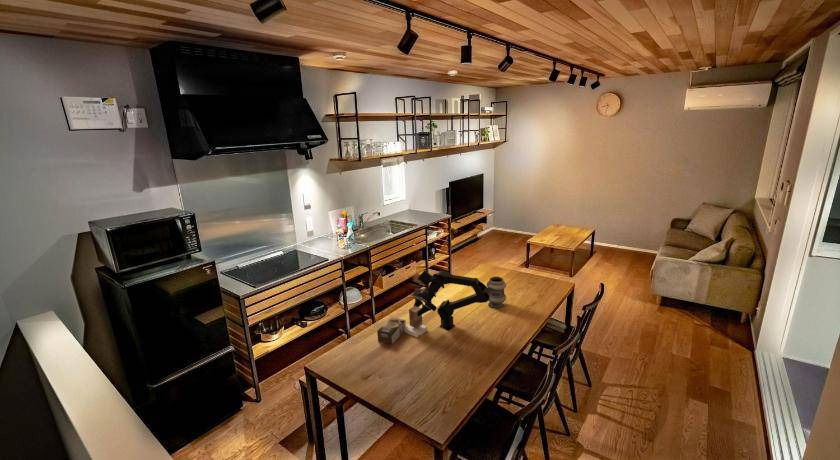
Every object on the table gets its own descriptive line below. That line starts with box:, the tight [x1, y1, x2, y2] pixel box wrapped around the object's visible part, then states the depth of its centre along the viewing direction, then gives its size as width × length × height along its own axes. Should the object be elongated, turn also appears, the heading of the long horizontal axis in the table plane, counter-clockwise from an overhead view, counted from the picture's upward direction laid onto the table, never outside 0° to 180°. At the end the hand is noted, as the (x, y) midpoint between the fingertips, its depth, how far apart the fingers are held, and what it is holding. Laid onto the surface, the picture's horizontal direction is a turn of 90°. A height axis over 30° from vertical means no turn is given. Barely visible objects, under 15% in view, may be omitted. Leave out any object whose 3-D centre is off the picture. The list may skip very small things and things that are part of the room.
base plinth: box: [404, 324, 428, 338], centre depth 215 cm, size 9×9×2 cm
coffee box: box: [376, 316, 407, 345], centre depth 212 cm, size 9×6×16 cm
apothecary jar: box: [486, 275, 507, 310], centre depth 237 cm, size 12×12×18 cm
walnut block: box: [408, 305, 423, 328], centre depth 212 cm, size 5×5×10 cm
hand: (415, 313), depth 212 cm, fingers closed on walnut block, 6 cm apart
